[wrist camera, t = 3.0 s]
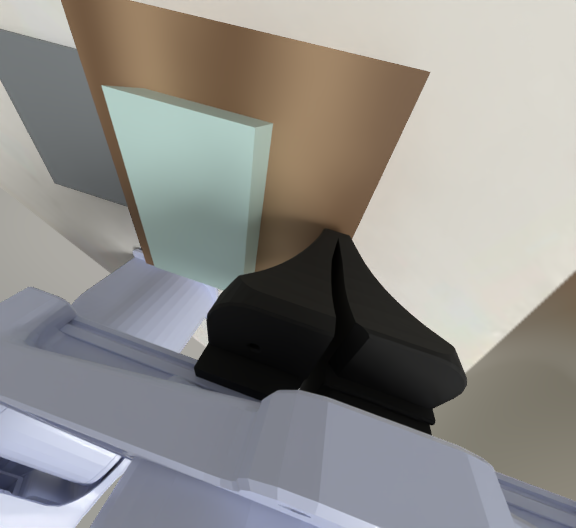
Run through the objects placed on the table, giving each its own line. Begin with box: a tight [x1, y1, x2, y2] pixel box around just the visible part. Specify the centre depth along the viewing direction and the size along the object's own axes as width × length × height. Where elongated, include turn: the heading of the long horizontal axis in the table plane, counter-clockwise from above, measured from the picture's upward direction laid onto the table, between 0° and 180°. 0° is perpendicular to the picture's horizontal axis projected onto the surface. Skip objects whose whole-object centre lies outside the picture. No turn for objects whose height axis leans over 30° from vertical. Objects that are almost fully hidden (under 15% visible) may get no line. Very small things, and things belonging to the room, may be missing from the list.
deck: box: [61, 0, 430, 272], centre depth 13 cm, size 14×14×4 cm
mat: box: [0, 29, 128, 207], centre depth 16 cm, size 12×10×1 cm
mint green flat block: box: [101, 85, 273, 290], centre depth 11 cm, size 6×9×2 cm, turn 169°
